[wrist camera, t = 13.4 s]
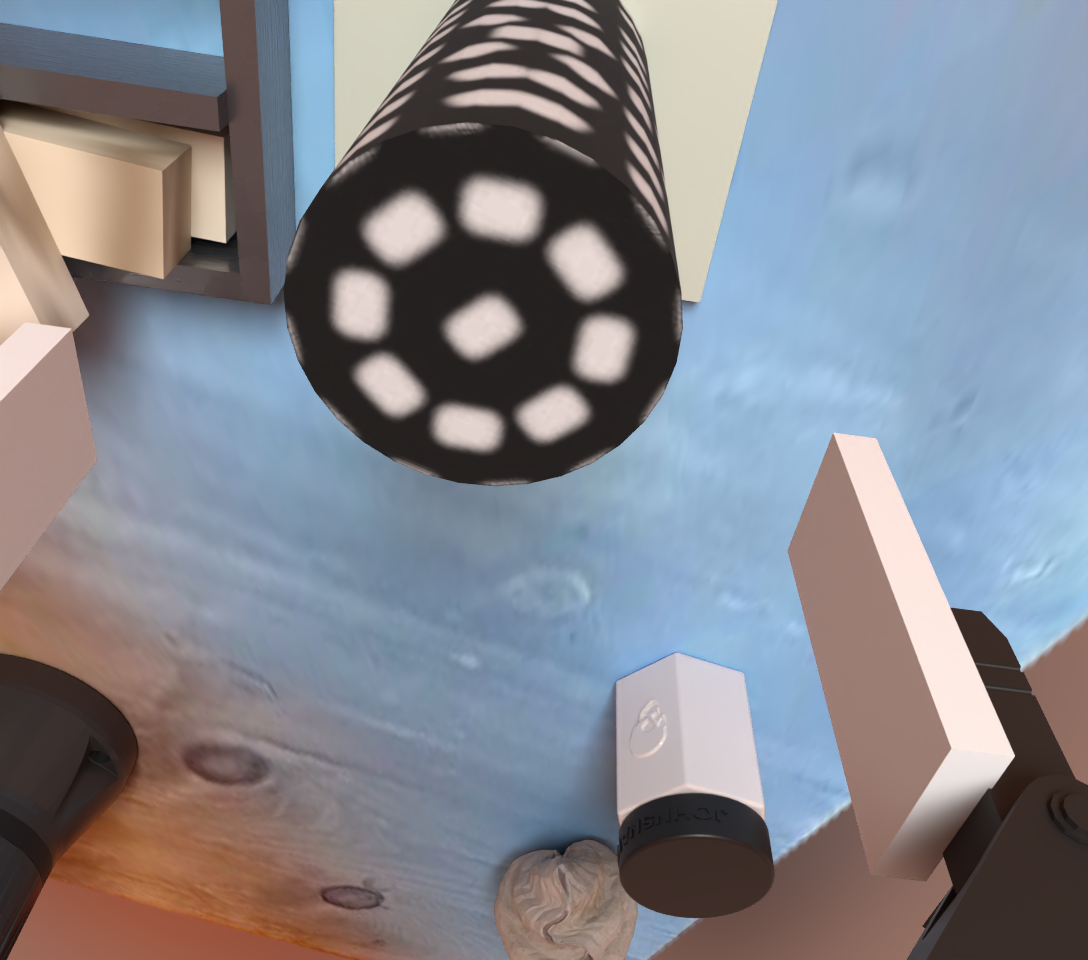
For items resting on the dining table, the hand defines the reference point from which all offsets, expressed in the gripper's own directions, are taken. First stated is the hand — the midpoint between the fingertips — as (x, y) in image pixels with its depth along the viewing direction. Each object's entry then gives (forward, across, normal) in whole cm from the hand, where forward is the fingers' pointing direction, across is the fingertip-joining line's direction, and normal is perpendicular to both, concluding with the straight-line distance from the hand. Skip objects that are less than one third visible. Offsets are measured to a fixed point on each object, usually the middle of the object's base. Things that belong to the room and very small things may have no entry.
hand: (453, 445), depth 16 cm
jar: (+25, -14, +35) cm, 45 cm away
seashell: (+26, -9, +54) cm, 60 cm away
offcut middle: (+23, +20, +5) cm, 31 cm away
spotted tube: (+24, 0, 0) cm, 24 cm away
